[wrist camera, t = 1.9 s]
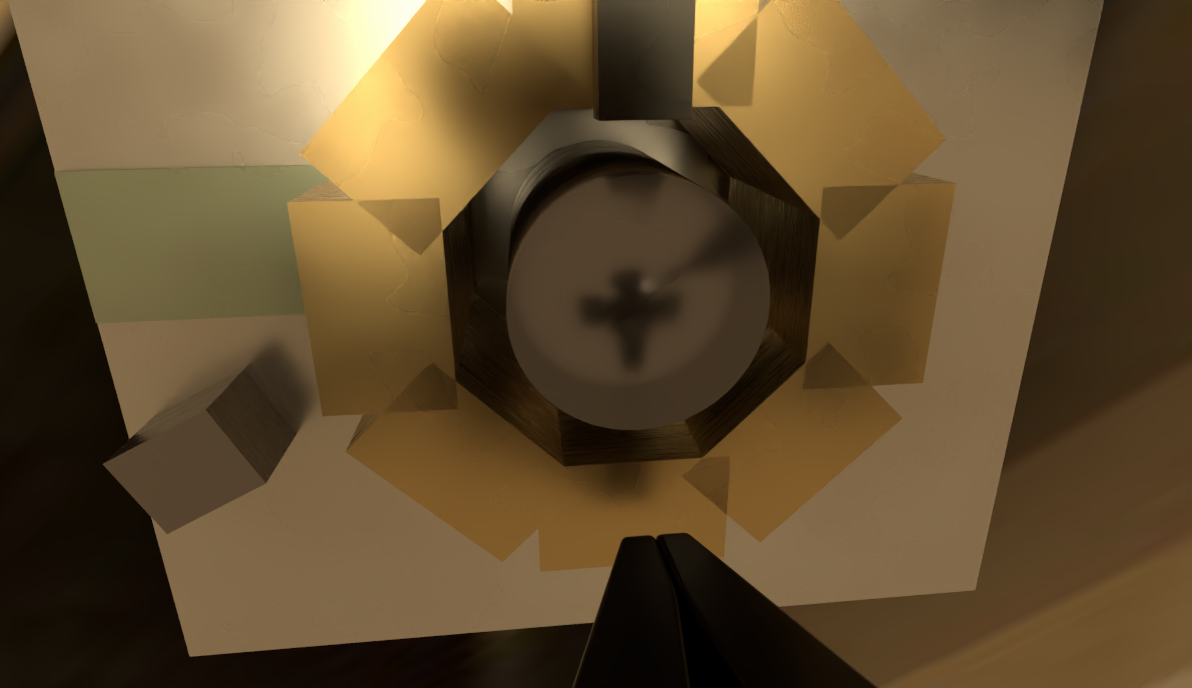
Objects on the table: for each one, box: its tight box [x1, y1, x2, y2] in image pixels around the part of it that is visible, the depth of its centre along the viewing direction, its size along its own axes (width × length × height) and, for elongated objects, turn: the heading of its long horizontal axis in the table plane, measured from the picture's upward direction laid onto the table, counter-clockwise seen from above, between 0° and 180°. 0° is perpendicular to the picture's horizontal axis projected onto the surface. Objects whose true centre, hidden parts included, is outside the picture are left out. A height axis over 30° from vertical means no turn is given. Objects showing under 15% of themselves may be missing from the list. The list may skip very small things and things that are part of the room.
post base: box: [8, 0, 1104, 656], centre depth 11 cm, size 18×18×6 cm
